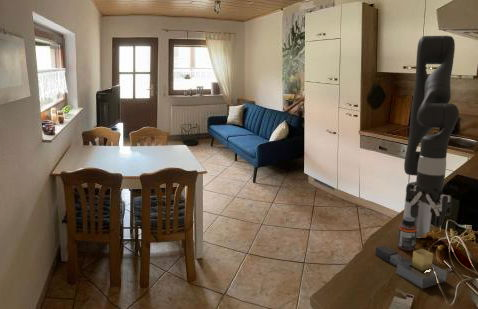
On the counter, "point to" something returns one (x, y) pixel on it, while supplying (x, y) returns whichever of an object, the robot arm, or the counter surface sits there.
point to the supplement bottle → (407, 234)
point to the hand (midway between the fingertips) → (425, 221)
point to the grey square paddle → (410, 268)
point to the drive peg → (422, 260)
